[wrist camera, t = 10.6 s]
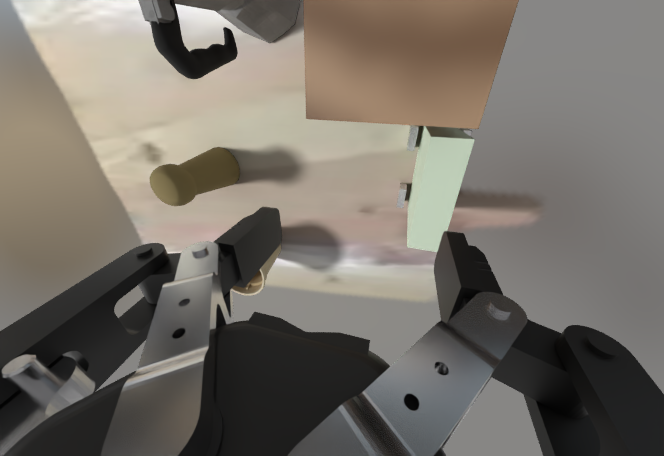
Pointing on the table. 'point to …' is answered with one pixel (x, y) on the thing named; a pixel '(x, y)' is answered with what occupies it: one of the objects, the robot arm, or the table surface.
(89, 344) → the robot arm
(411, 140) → the small rectangular blocks
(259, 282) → the flower pot
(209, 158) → the cork
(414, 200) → the door panel
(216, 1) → the coffeepot
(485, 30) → the brown wooden box
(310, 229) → the table surface
